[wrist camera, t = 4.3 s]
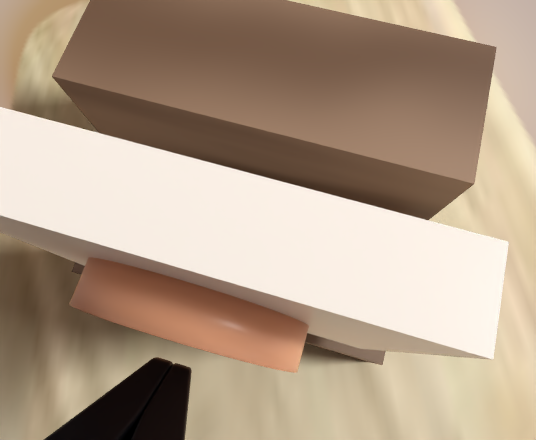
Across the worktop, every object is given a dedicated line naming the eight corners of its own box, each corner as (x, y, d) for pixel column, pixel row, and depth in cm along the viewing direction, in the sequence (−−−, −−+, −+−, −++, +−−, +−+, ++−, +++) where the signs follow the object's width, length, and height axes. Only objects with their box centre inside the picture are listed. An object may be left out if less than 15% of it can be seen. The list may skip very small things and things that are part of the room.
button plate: (352, 382, 12) (480, 448, 5) (76, 297, 13) (-201, 235, 6) (370, 300, 13) (508, 241, 5) (106, 224, 14) (-104, 79, 6)
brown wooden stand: (368, 361, 15) (442, 378, 9) (95, 279, 16) (-30, 236, 10) (411, 159, 18) (496, 47, 11) (169, 98, 19) (110, -39, 12)
